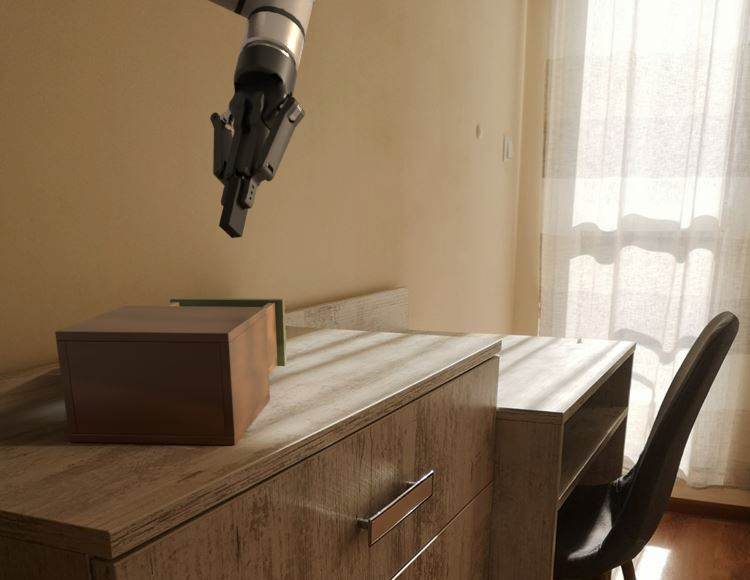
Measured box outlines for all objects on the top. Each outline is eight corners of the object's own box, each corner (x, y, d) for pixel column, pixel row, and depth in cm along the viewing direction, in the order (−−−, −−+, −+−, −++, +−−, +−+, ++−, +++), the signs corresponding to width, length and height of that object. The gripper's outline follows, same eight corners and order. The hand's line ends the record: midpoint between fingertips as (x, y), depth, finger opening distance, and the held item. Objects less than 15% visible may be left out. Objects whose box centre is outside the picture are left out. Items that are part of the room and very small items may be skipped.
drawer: (187, 356, 104) (182, 293, 101) (292, 357, 103) (290, 294, 101) (135, 391, 86) (128, 315, 83) (262, 393, 85) (259, 317, 82)
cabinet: (133, 398, 87) (124, 305, 83) (270, 400, 86) (265, 307, 83) (69, 442, 71) (54, 331, 68) (235, 445, 70) (228, 333, 67)
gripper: (327, 76, 103) (292, 243, 98) (243, 93, 109) (205, 252, 104) (297, 30, 97) (258, 207, 92) (209, 52, 103) (167, 219, 98)
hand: (230, 231), depth 98 cm, fingers closed
